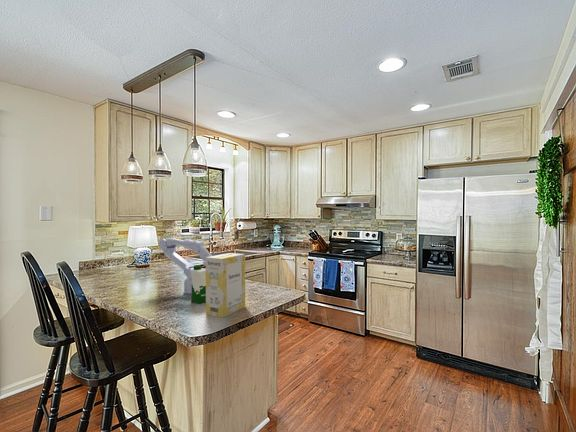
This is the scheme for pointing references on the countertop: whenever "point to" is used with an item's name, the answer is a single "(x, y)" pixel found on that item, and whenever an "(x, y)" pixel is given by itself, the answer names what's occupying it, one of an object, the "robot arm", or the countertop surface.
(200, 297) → the soya milk
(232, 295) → the pasta box
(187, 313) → the countertop surface
